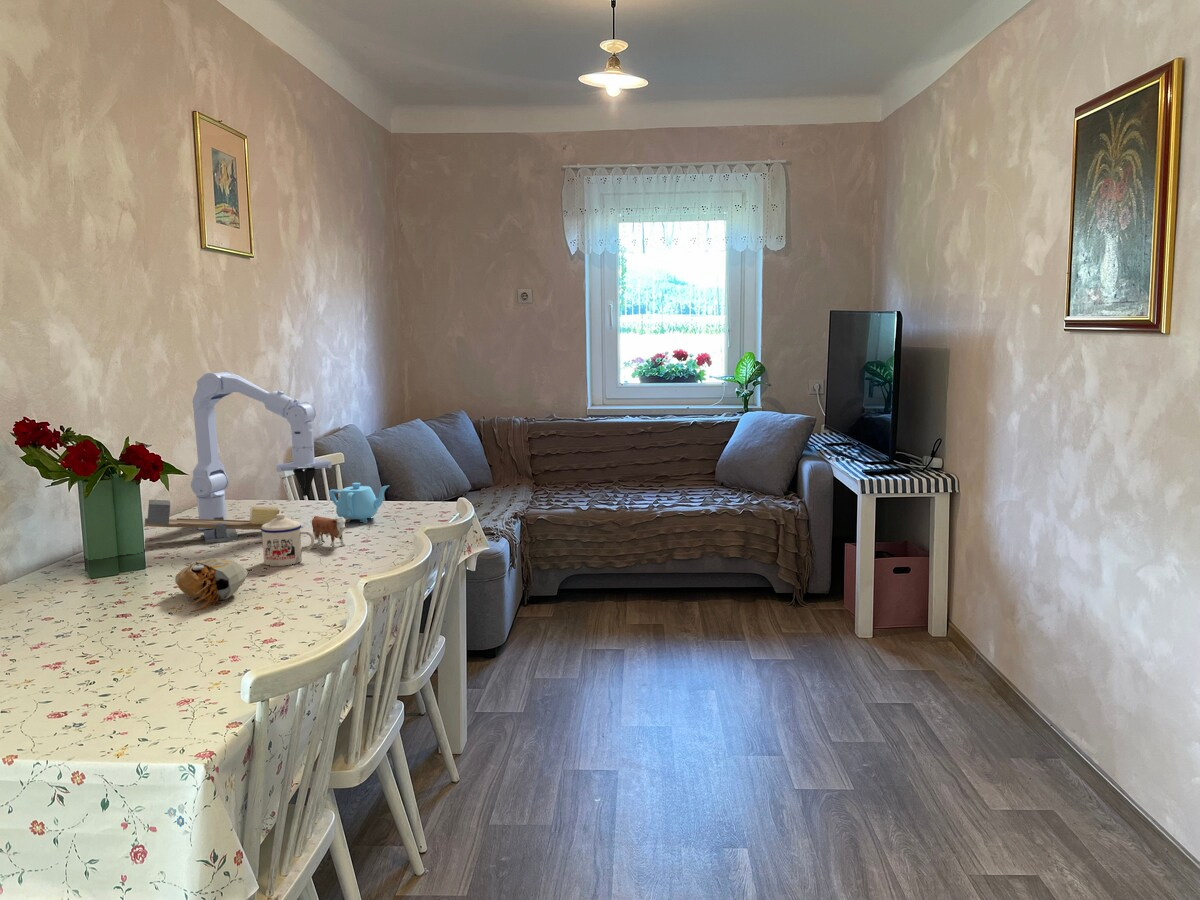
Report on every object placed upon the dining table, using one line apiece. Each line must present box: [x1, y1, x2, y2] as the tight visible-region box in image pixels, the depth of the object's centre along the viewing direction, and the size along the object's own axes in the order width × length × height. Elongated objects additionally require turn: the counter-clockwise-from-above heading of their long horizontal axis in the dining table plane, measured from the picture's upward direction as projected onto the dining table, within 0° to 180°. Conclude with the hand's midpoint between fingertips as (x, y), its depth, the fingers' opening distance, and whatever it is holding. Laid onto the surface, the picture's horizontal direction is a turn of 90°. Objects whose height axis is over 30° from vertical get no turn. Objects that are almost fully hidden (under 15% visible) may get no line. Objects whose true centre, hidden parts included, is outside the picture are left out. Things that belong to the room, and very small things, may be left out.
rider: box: [248, 506, 280, 525], centre depth 247 cm, size 4×7×4 cm, turn 116°
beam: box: [144, 499, 262, 531], centre depth 242 cm, size 8×36×6 cm, turn 116°
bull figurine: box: [311, 515, 351, 548], centre depth 232 cm, size 4×13×8 cm, turn 53°
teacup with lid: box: [260, 513, 316, 567], centre depth 215 cm, size 12×9×12 cm
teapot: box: [328, 482, 390, 524], centre depth 263 cm, size 13×14×11 cm
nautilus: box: [174, 557, 248, 613], centre depth 185 cm, size 8×22×15 cm
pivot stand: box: [202, 517, 239, 544], centre depth 242 cm, size 12×8×5 cm, turn 26°
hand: (305, 495), depth 251 cm, fingers closed
